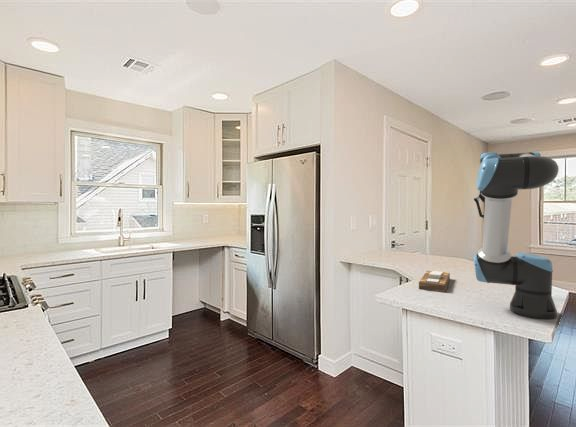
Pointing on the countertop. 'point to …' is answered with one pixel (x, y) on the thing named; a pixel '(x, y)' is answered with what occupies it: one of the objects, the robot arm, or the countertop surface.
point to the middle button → (435, 275)
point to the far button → (438, 272)
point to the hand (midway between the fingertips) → (487, 231)
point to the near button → (433, 280)
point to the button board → (434, 286)
